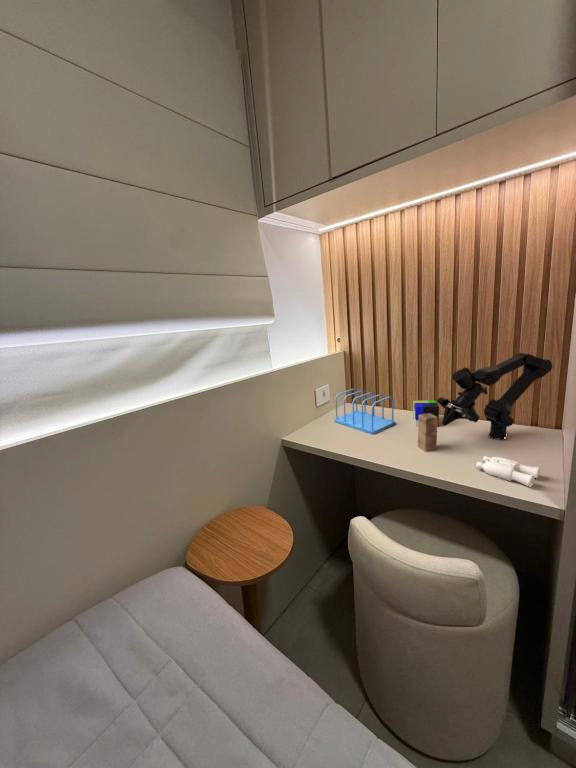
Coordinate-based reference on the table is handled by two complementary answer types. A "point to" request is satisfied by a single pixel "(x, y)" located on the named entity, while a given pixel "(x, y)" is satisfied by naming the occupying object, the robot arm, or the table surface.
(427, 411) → the puzzle toy
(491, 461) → the binoculars
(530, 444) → the table surface
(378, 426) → the file sorter
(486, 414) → the robot arm
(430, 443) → the walnut block
